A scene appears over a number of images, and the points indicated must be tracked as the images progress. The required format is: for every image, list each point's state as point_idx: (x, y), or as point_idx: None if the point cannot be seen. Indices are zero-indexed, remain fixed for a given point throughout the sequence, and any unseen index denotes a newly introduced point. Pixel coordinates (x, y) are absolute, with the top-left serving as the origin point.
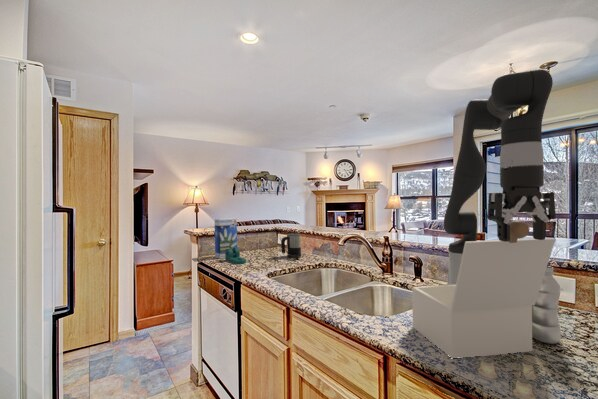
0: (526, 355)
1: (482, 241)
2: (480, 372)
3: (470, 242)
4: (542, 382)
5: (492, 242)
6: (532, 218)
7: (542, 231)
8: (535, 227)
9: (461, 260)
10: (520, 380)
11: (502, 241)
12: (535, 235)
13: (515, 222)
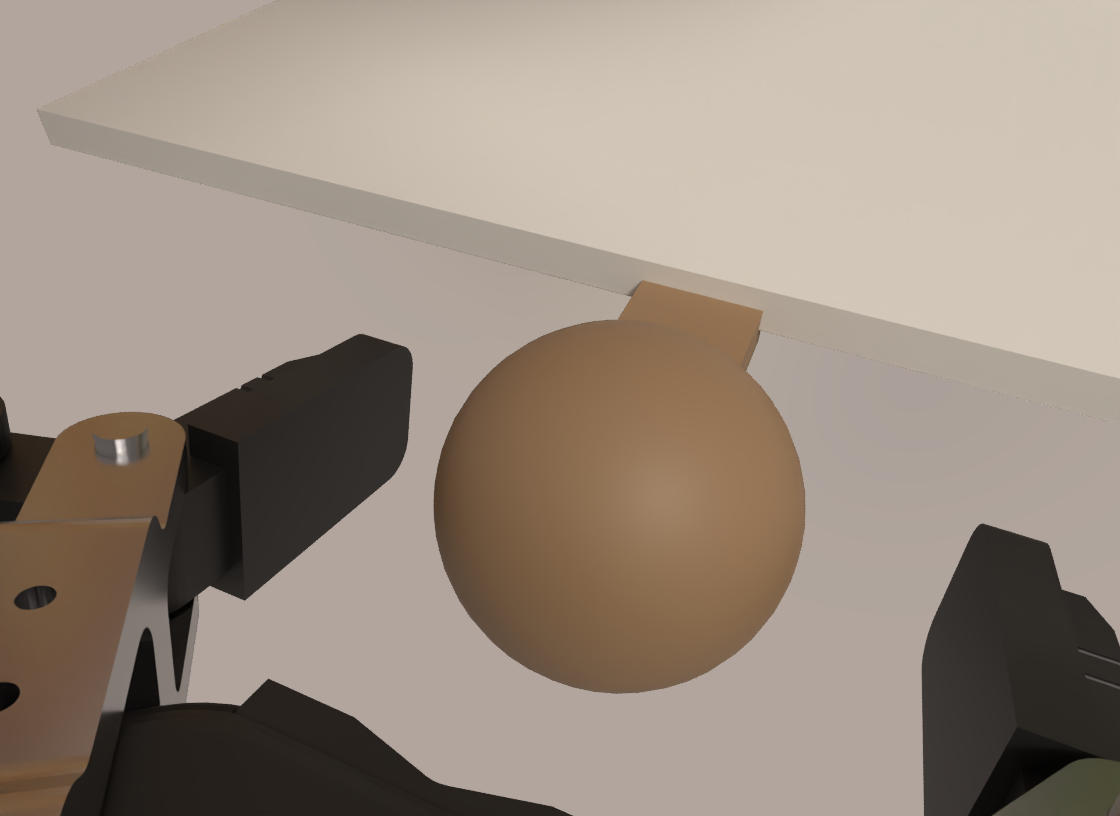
0: None
1: (239, 182)
2: None
3: (90, 153)
4: None
5: (382, 222)
6: (1025, 800)
7: (923, 751)
8: (983, 688)
9: (228, 28)
10: None
11: (528, 266)
12: (968, 585)
13: (458, 590)
